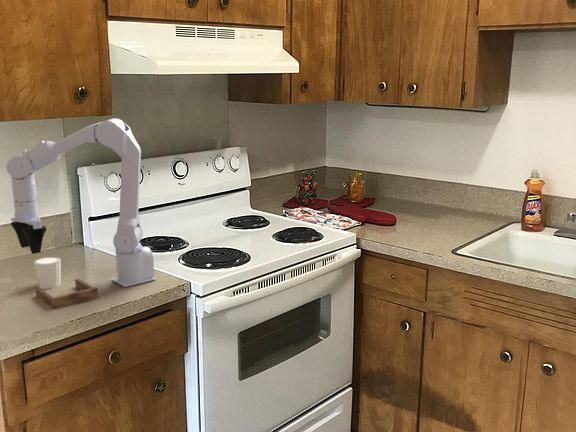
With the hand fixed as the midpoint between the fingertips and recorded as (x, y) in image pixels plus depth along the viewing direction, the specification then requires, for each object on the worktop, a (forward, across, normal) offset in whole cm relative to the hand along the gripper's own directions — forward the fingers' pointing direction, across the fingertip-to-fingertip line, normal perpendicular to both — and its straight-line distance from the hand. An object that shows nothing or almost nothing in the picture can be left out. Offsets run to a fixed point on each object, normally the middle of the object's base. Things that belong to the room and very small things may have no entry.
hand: (30, 249), depth 168 cm
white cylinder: (+10, +4, +3) cm, 11 cm away
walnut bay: (+10, +15, +2) cm, 18 cm away
